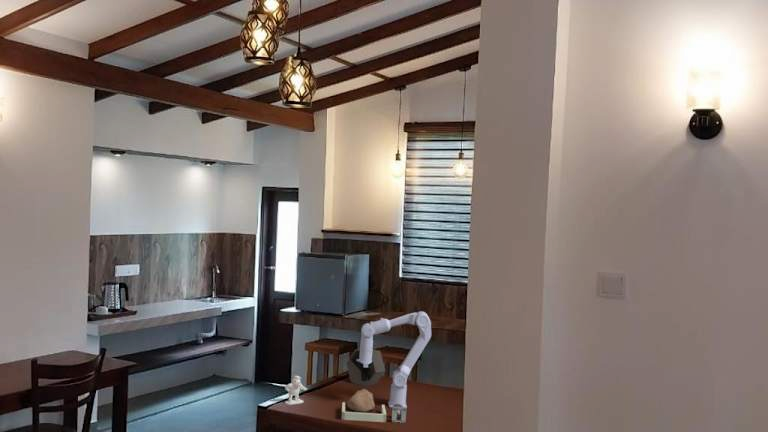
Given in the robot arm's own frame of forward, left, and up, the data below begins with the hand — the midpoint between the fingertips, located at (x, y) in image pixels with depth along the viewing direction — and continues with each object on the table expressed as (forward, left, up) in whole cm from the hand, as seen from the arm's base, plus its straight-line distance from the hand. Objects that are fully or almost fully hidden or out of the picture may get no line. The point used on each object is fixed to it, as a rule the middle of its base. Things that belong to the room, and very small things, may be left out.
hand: (363, 380), depth 316 cm
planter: (-38, +2, -11) cm, 40 cm away
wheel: (+22, +15, -10) cm, 28 cm away
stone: (+11, 0, -11) cm, 15 cm away
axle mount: (+27, +14, -10) cm, 32 cm away
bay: (+20, 0, -10) cm, 22 cm away
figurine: (+7, -30, -11) cm, 33 cm away
